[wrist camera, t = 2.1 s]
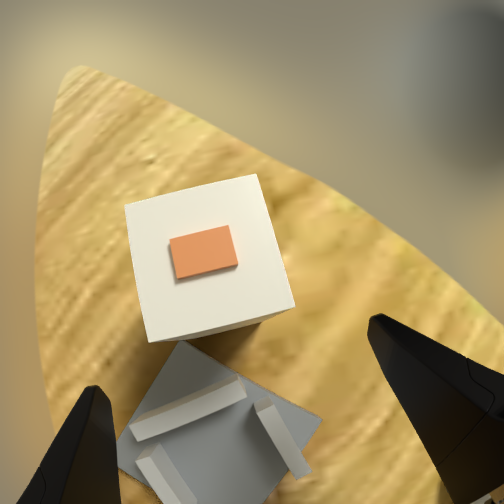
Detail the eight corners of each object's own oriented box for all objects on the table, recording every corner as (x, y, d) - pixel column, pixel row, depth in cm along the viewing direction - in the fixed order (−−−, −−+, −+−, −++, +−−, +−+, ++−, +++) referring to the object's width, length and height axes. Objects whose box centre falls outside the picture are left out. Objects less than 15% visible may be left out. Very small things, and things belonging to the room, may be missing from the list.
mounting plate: (241, 523, 16) (244, 555, 12) (112, 453, 17) (88, 474, 13) (321, 415, 18) (342, 433, 14) (184, 337, 19) (171, 338, 15)
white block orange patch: (261, 322, 20) (297, 305, 9) (193, 338, 19) (146, 342, 8) (243, 254, 21) (255, 166, 10) (177, 269, 20) (121, 197, 9)
